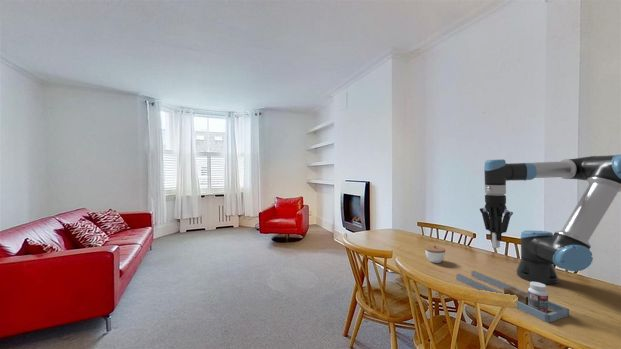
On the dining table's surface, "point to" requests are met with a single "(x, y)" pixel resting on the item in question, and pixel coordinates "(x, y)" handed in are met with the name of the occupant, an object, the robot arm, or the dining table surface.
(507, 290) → the walnut chip
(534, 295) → the pill bottle
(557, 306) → the corral tray
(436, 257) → the lidded jar
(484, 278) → the slot rails
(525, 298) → the walnut chip
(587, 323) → the dining table surface
